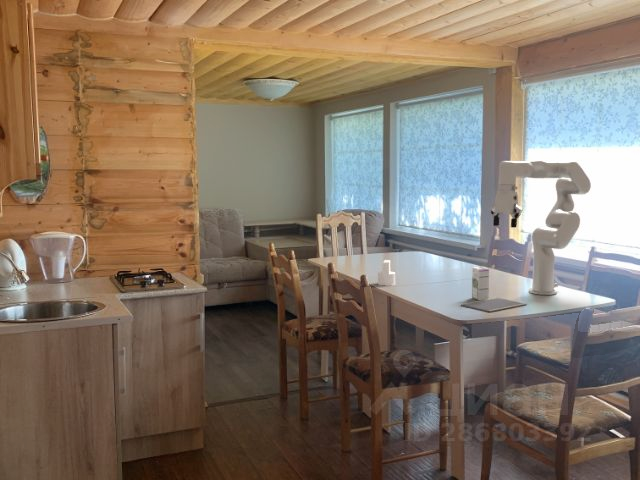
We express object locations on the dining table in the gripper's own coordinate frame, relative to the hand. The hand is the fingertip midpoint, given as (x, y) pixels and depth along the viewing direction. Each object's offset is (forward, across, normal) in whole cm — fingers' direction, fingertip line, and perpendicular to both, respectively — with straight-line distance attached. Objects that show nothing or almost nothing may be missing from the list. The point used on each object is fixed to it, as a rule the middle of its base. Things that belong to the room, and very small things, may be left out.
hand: (504, 226), depth 290 cm
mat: (+34, -7, +13) cm, 37 cm away
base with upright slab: (+34, +58, +18) cm, 70 cm away
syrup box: (+34, +6, +7) cm, 35 cm away
